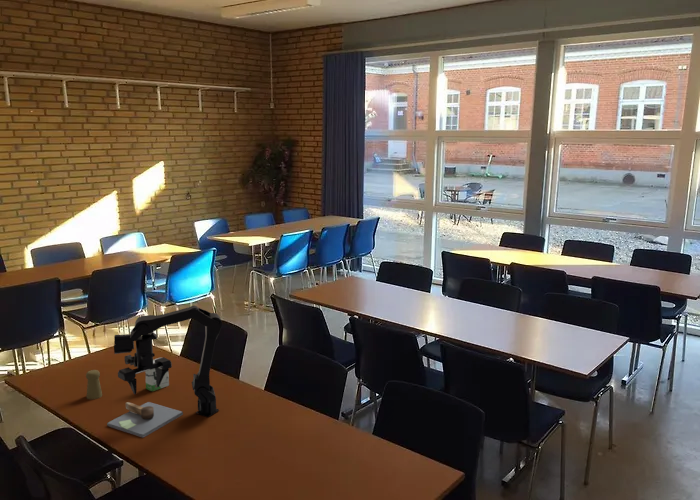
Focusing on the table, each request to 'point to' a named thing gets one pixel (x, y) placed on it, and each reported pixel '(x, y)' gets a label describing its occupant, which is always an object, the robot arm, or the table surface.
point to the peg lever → (141, 410)
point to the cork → (93, 385)
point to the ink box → (152, 380)
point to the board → (145, 420)
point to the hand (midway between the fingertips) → (146, 390)
